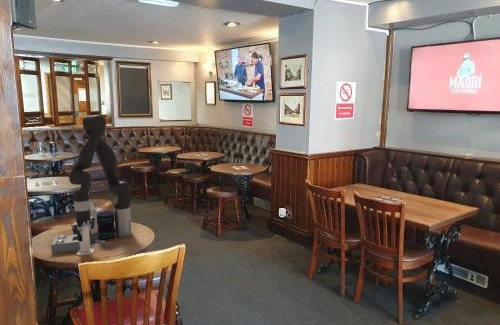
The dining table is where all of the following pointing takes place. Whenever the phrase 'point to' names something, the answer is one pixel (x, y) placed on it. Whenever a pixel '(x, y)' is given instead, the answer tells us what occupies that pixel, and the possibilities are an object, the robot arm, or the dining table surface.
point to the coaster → (85, 252)
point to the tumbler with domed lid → (85, 238)
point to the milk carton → (93, 214)
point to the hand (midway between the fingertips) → (84, 239)
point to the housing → (65, 244)
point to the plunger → (62, 237)
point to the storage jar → (105, 225)
